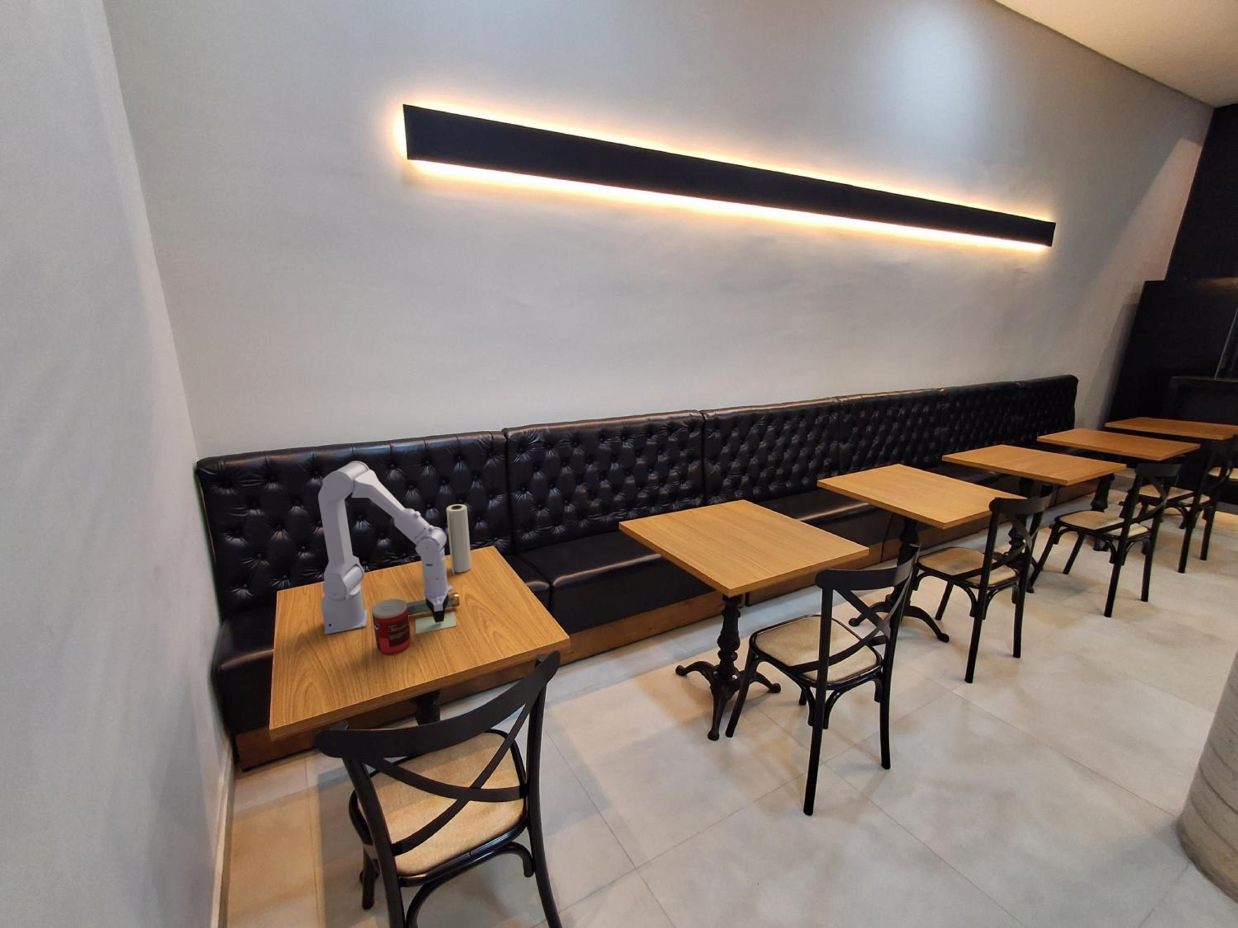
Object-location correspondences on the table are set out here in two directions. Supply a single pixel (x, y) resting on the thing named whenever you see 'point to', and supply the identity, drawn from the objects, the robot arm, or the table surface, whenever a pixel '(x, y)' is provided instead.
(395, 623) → the canned food
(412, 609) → the grey copper-tipped rod
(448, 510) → the paper towel roll
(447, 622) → the plate
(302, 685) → the table surface
